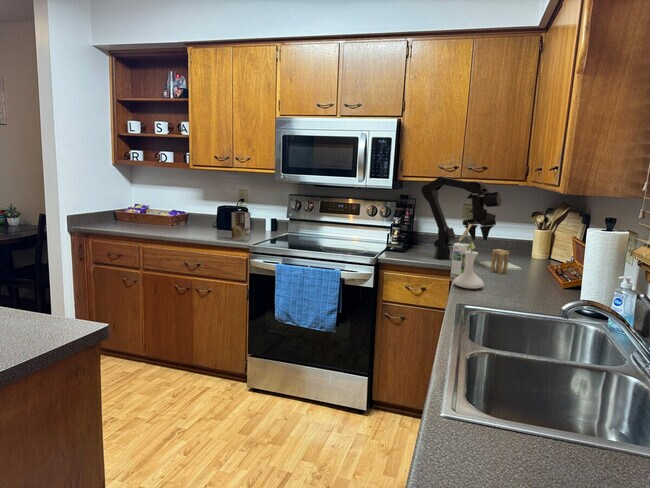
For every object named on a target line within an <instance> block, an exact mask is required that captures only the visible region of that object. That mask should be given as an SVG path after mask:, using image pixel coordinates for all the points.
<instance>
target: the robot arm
mask: <svg viewBox="0 0 650 488" xmlns="http://www.w3.org/2000/svg"><path fill="white" fill-rule="evenodd" d="M443 186H448V187H453V188H458V189H462V190H465V191H466V192H467V193H469V195H468V196H467V197H466V199H468V200H469V199H470V200H471V209H470V211H469V213H471V218H467V219H466V218H465V219H463V221H462V226H464V228H465V230H466V229H467V228H468V226H469V224H471V227H470V229H469V231H468V235H469V237H470V238H471V239H472V240H473V241H474V240H476V230H477V227H478V225H480V231H481V235H482V238H483V241H485V242H486V241H487V240H488V237H489V234H490V231H491V229H492V228H493V227H495V226H496V225H497V220H496V216H497V215H496V214H493V213H490V212H488V209H486V208H485V206H486V207H487V208H491V207H492V208H497V207H501V205H502V197H501V195H500V191H494V192H490V191H489V190H488V189H487V187H486V184H485V183H484V182H483V181H480V180H479V181H475V180H474V181H472V180H471V181H468V180H467V181H466V180H462V179H457V178H456V179H455V178H450V177H446V176H439V177H437V178H436V179H434V180H432V181H430V182H429V183H427V184H424V185H422V187H421V194H422V196H423V198H424V199H425V201H426V202H428V204H429V207H430V210H431V212H432V215H433V218H434V220H435V223H436V226H437V238H438V239H437V240H435V241H434V242H433V246H434V247H435V248H434V249H435V251H434V255H433V258H434V259H436V260H450V259H451V258H450V256H451V250H450V247H451V246H452V244H454V242H455V240H456V237H455V236H456V234H455V232H454V228H453V227H449V225H448V224H447V221H446V218H445V216H444V214H443V213H444V212H443V210H442V208H441V204H440V202H439V192H438V191H439V190H441V189H443Z"/></svg>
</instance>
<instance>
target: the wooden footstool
mask: <svg viewBox="0 0 650 488" xmlns="http://www.w3.org/2000/svg"><path fill="white" fill-rule="evenodd" d="M509 256H510V251H509V250H505V249H501V248H498V249H493V250H492V254H491V261H490V262H491V269H490V272H491V273H495V272H497V274H498V275H502V274H507V273H508V270H507V267H508V263H509V258H510V257H509ZM495 262H496V270H495ZM503 262H504V267H503ZM502 267H503V270H502Z"/></svg>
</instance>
